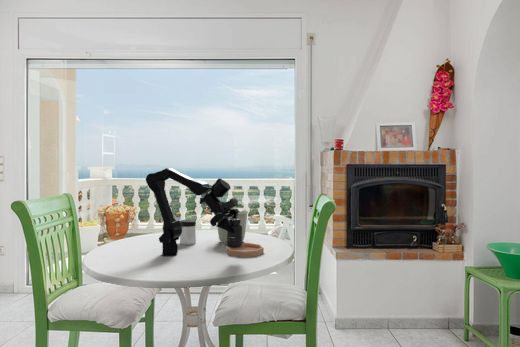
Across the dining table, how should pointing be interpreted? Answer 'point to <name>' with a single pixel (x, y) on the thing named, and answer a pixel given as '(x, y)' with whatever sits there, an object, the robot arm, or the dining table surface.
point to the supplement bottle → (235, 234)
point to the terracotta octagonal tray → (246, 250)
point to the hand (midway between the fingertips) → (237, 231)
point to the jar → (188, 232)
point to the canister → (243, 217)
